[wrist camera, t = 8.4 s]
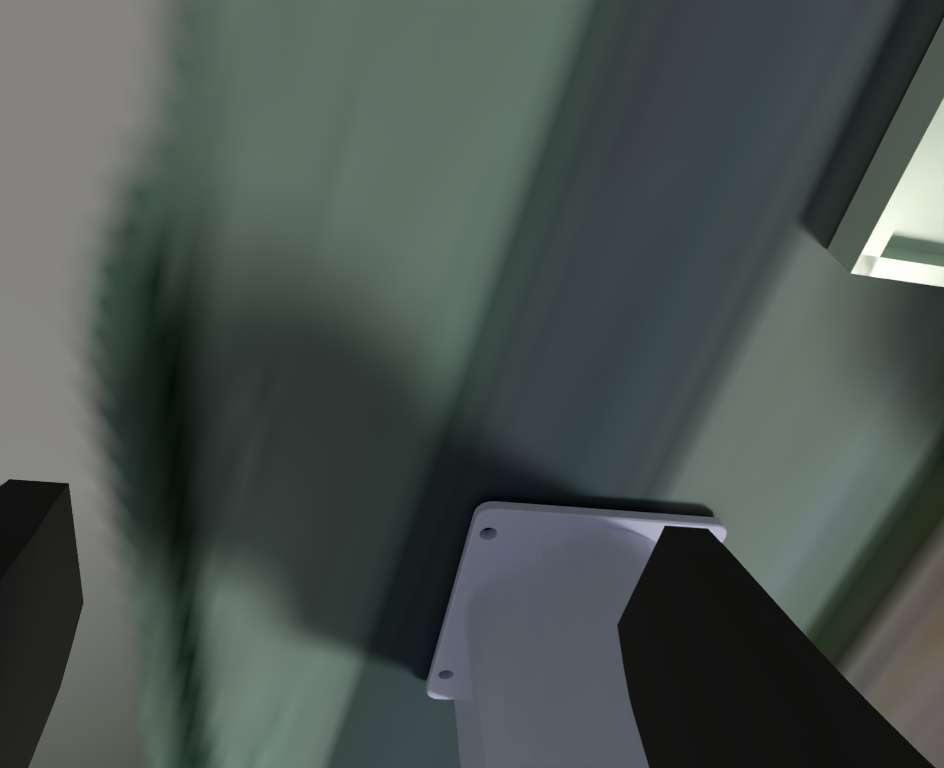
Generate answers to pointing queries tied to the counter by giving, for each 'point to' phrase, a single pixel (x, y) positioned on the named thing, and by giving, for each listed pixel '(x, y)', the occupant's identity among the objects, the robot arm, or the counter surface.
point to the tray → (903, 189)
